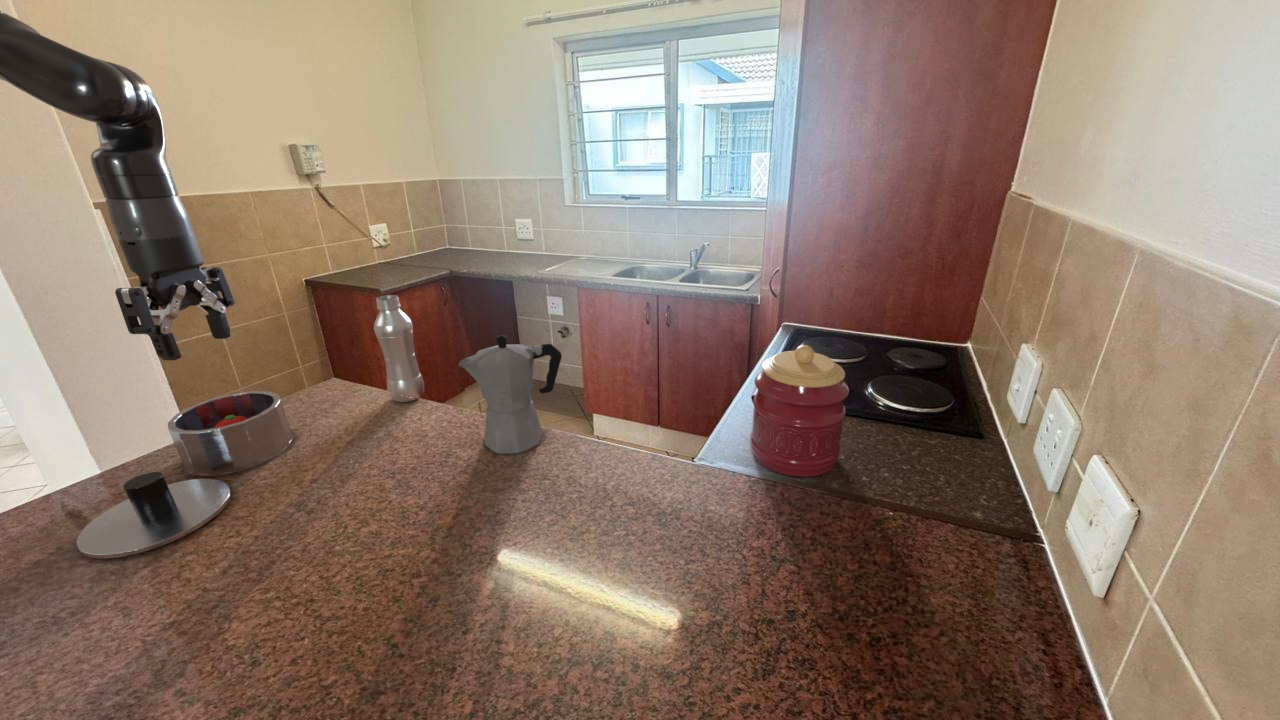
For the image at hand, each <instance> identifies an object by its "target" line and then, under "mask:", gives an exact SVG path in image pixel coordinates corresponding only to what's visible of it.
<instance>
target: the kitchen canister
mask: <svg viewBox="0 0 1280 720" xmlns="http://www.w3.org/2000/svg"><path fill="white" fill-rule="evenodd" d="M761 370H762V371H760V372H759V373H757V375H756V376H755V377H754V385H755V388H756V389H757V392H756V394H755V395H754V397H753V400H752V402H753V403H752V404H753V413H752V414H753V415H752V426H751V427H752V428H751V432H750V439H749V443H750V449H751V453H752V456H753V457H754V458H755V460H756V461H757V462H758V463H759V464H761V465H762V466H764V467H765V468H766V469H768V470H771V471H772V472H773V471H774V472H776V473H777V474H778V473H779V474H782V475H786V476H791V477H801V478H804V477H805V478H807V477H808V478H809V477H816V476H821V475H824V474H826V473H828V472H830V471H831V470H832V469H834V467H835V466H836V464H837V462H838V461H837V460H838V459H839V457H840V452H841V438H842V430H843V425H844V424H843V423H844V419H845V416H846V413H847V412H846V406H845V405H844V400H845V399H847V397H848V396H849V393H850V388H849V386H848V384H847V383H846V381H845V380H844V379H845V377H846V372H845V370H844V368H843V367H842V366H841V365H840V364H838V363H836V362H835V361H834V360H833V359H832V358H831V357H828V356H826V355H824V354H821V353H818V352H815V351H814V349H813V348H812V347H811V346H810V345H807V344H801V345H799V346H798V347H797V348H796V349H795V350H787V351H782V352H778V353H777V354H775V355H773V356H770V357H769V358H766V359H765V360H764V361H763V362H762V364H761Z"/></svg>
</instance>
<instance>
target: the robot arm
mask: <svg viewBox="0 0 1280 720" xmlns="http://www.w3.org/2000/svg"><path fill="white" fill-rule="evenodd" d="M0 80H1V81H4V82H6V83H8V84H10V85H12V87H15V88H17V89H18V90H20V91H22V92H23V93H26V94H27V95H29V96H31V97H33V98H35V99H37V100H39V101H41V102H42V103H44V104H46V105H48V106H51V107H52V108H54V109H56V110H58V111H61V112H63V113H66V114H67V115H70V116H73V117H76V118H78V119H81V120H84V121H87V122H89V123H95V126H96V130H97V134H98V139H99V140H98V141H99V147H98V148H96V149H95V150H93V151H92V152H91V154H90V162H91V167H92V169H93V172H94V175H95V178H96V180H97V183H98V185H99V187H100V190H101V192H102V195H103V198H104V201H105V202H106V203H105V204H106V207H107V212H108V217H109V220H110V222H111V225H112V228H113V231H114V233H115V235H116V238H117V240H118V243H119V245H120V247H121V251H122V253H123V255H124V258H125V260H126V264H127V266H128V268H129V270H130V271H131V272H132V273H134V274H135V275H136V276H137V277H138V280H139V285H138V286H133V287H118V288H116V289H115V290H114V293H115V294H114V295H115V298H116V300H117V302H118V306H119V309H120V311H121V314H122V317H123V319H124V323H125V326H126V328H127V331H128V333H129V334H131V335H147V336H148V337H149V338H150V341H151V343H152V346H153V348H154V350H155V353H156V355H157V356H158V357H159V358H160V359H162V360H163V361H177V360H179V359H181V358H182V354H181V351H180V348H179V345H178V343H177V341H176V338H175V336H174V333H173V332H171V328H172V326H173V325H172V324H173V321H174V320H175V319H176V318H177V317H178V315H179V312H180V311H183V310H186V309H188V308H189V307H194V306H195V307H198V309H200V310H201V311H203V313H206V314H205V319H206V321H207V324H208V327H209V330H210V332H211V336H212V338H214V340H215V339H216V340H226V339H228V338H230V337H231V328H230V325H229V323H228V319H227V316H226V313H227V309H228V308H229V307H233V306H234V305H235V299H234V297H233V294H232V292H231V289H230V286H229V284H228V280H227V278H226V276H225V273H224V270H223V269H222V268H221V267H219V266H214V267H213V266H203V265H204V263H205V261H204V258H203V254H202V251H201V249H200V246H199V244H198V240H197V237H196V234H195V231H194V229H193V225H192V223H191V220H190V217H189V214H188V212H187V209H186V208H185V206H184V204H183V202H182V200H181V197H180V195H179V192H178V187H177V185H176V183H175V181H174V177H173V174H172V172H171V169H170V166H169V164H168V160H167V154H166V153H167V152H166V151H167V150H166V149H167V147H166V138H165V128H164V121H163V115H162V111H161V108H160V104H159V102H158V100H157V98H156V96H155V93H154V92H153V89H152V88H151V86H149V84H148V83H147V82H146V81H145V80H144V79H143V78H142V76H140V74H138V73H137V72H135V71H134V70H132V69H130V68H128V67H127V66H124V65H121V64H119V63H114V62H111V61H107V60H103V59H99V58H96V57H92V56H90V55H88V54H85V53H83V52H80V51H78V50H75V49H73V48H71V47H69V46H66V45H64V44H62V43H60V42H57V41H55V40H53V39H51V38H48V37H46V36H44V35H42V34H41V32H39V31H38V30H37V29H35V28H34V27H32V26H30V25H29V24H27V23H25V22H24V21H21V20H19V19H18V18H16V17H14V16H12V15H9V14H8V13H5V12H4V11H1V10H0ZM220 293H221V295H220ZM221 296H222V297H221ZM159 308H161V309H159Z"/></svg>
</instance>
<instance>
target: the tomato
mask: <svg viewBox="0 0 1280 720" xmlns="http://www.w3.org/2000/svg"><path fill="white" fill-rule="evenodd" d="M246 419H248V418H246V417H242V416H234V415H228V416H226V417H225V419H223V420H222V421H220V422H219V423H218V424H217V425H216V426H215V428H220V427H224V426H227V425H231V424H234V423H238V422H241V421H244V420H246Z"/></svg>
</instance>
